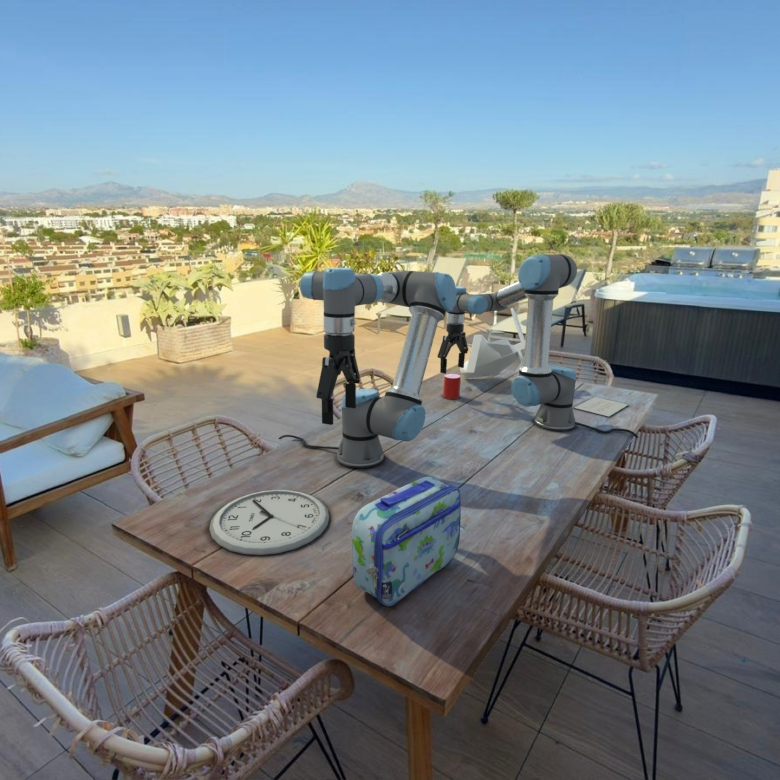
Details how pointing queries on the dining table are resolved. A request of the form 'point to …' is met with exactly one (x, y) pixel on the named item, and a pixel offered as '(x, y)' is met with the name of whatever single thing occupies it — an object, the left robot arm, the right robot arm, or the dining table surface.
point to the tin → (451, 386)
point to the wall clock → (269, 522)
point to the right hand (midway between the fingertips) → (452, 370)
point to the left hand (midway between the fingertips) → (339, 415)
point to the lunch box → (405, 538)
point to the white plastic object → (493, 354)
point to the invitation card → (601, 406)
